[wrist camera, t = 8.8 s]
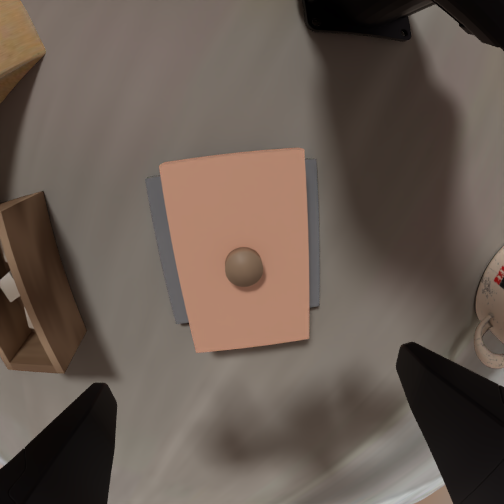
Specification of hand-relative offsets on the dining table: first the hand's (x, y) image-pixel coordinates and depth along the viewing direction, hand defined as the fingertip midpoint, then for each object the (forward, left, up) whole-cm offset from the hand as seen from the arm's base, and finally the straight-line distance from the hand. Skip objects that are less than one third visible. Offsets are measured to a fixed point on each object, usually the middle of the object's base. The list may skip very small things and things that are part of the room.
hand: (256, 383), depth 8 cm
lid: (0, 0, -9) cm, 9 cm away
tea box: (+14, 0, -11) cm, 17 cm away
